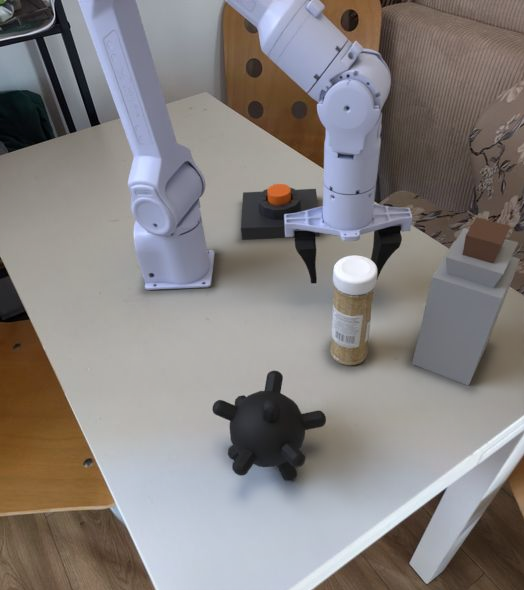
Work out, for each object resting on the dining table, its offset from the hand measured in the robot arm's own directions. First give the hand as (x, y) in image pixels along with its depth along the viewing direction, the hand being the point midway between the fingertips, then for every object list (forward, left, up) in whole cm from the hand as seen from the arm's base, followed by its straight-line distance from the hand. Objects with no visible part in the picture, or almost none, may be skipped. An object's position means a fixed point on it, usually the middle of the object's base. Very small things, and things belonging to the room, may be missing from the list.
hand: (343, 276), depth 66 cm
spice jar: (0, -9, -5) cm, 10 cm away
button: (-8, +20, -1) cm, 21 cm away
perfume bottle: (+12, -10, -5) cm, 16 cm away
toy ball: (-10, -23, -5) cm, 26 cm away
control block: (-8, +20, -4) cm, 22 cm away
